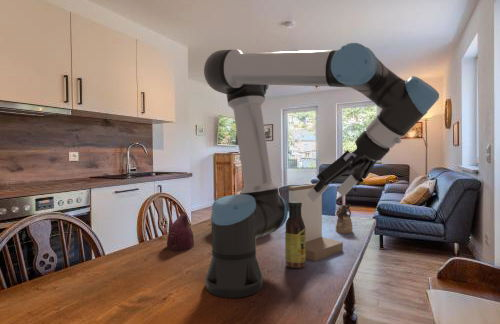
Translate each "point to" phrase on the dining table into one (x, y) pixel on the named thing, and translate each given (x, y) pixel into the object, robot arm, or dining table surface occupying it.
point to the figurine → (344, 220)
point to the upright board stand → (313, 224)
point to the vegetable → (180, 235)
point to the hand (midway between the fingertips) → (326, 195)
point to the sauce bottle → (295, 237)
